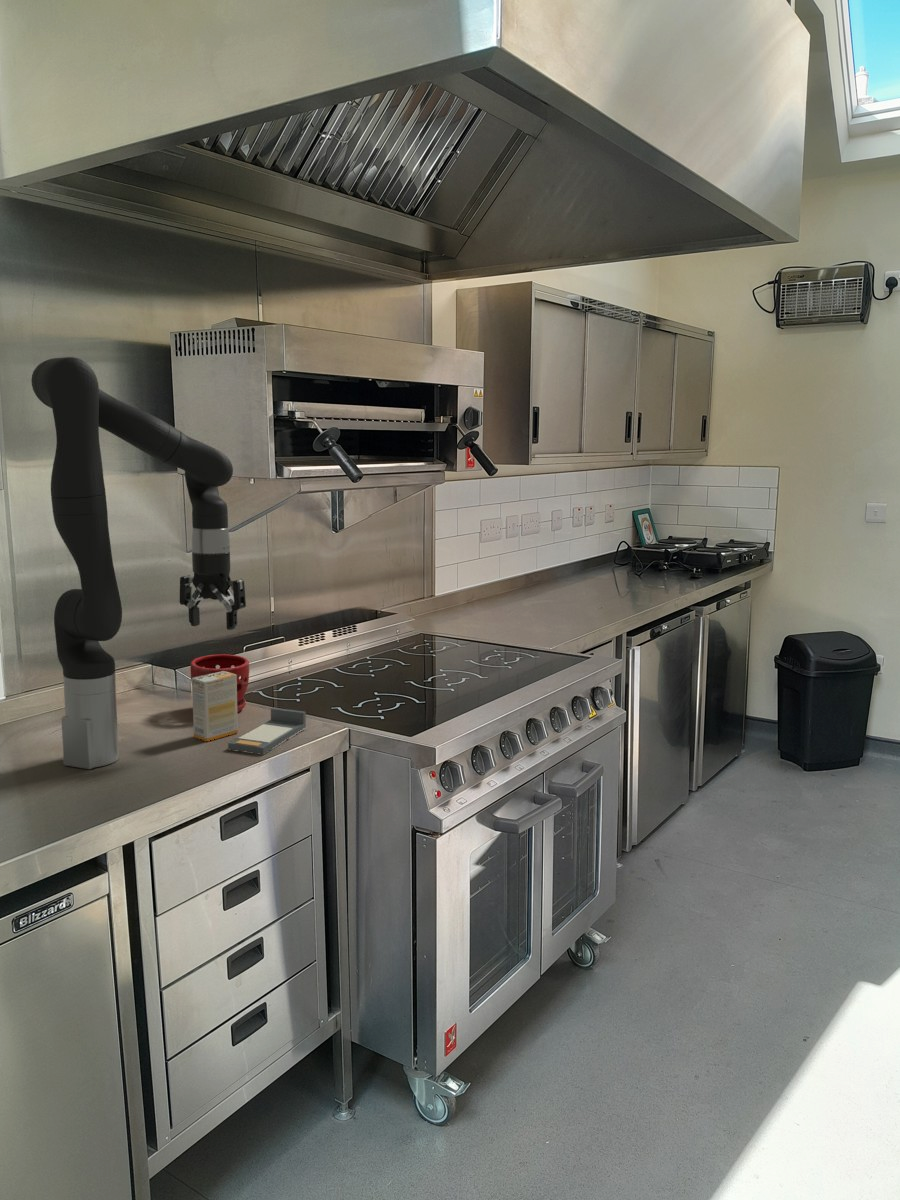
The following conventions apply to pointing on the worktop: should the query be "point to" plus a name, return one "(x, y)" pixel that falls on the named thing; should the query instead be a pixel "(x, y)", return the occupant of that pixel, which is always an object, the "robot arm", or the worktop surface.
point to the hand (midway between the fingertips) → (213, 627)
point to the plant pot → (225, 665)
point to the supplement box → (215, 705)
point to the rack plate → (271, 731)
